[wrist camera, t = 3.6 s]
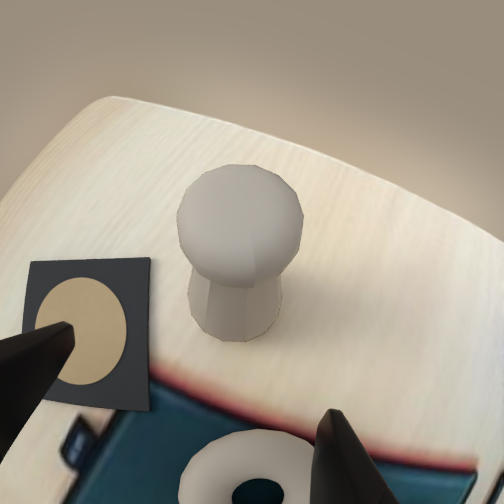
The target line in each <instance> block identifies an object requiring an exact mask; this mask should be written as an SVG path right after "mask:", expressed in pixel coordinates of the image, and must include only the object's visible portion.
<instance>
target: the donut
mask: <svg viewBox="0 0 504 504" xmlns="http://www.w3.org/2000/svg"><path fill="white" fill-rule="evenodd" d="M313 453H314V447H313V446H312V445H311V444H309V443H308V442H307V441H305V440H303V439H300V438H298V437H295V436H293V435H291V434H288V433H286V432H281V431H272V430H263V429H254V430H248V431H240V432H233V433H231V434H229V435H226V436H224V437H222V438H219V439H217V440H215V441H212V442H210V443H209V444H208V445H207V446H205V447H204V448H203V449H202V450H201V451H199V452H198V453H197V454H196V455H194V456H193V457H192V458H191V460H190V462H189V463H188V465H187V467H186V468H185V470H184V472H183V473H182V475H181V480H180V486H179V492H178V500H179V504H232V499H231V498H232V493H233V491H234V490H235V488H236V487H237V486H239V485H240V484H241V483H243V482H245V481H248V480H250V479H256V478H265V479H270V480H273V481H275V482H277V483H278V484H280V486H281V487H282V489H283V490H284V495H285V496H284V500H283V502H282V504H309V502H310V483H311V466H312V459H313Z"/></svg>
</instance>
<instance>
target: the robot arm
mask: <svg viewBox="0 0 504 504" xmlns="http://www.w3.org/2000/svg"><path fill="white" fill-rule="evenodd" d="M74 347H75V334H74V327H73V325H72V324H69V323H67V322H65V321H61V322H58V323H54V324H51V325H48V326H45V327H42V328H38V329H35V330H32V331H29V332H25V333H22V334H19V335H16V336H12V337H9V338H6V339H2V340H0V464H1V462H2V460H3V459H4V458H3V457H5V455H6V453H7V452H8V450H9V449H10V447H11V445H12V444H13V442H14V441H15V439H16V438H17V436H18V434H19V433H20V431H21V430H22V428H23V427H24V425H25V424H26V422H27V421H28V419H29V418H30V416H31V415H32V413H33V412H34V410H35V409H36V407H37V406H38V405H39V403H40V402H41V400H42V399H43V397H44V396H45V395H46V393H47V392H48V390H49V389H50V387H51V386H52V385H53V383H54V382H55V380H56V379H57V377H58V376H59V374H60V372H61V370H62V368H63V367H64V365H65V363H66V361H67V360H68V358H69V356H70V355H71V353H72V351H73V349H74ZM309 504H400V503H399V501H398V500H397V498H396V497H395V496H394V494H393V492H392V491H391V489H390V488H389V487H388V485H387V483H386V481H385V480H384V478H383V477H382V475H381V474H380V472H379V470H378V469H377V467H376V466H375V464H374V462H373V461H372V459H371V458H370V456H369V454H368V453H367V451H366V450H365V448H364V446H363V445H362V443H361V442H360V440H359V438H358V437H357V435H356V434H355V432H354V430H353V429H352V427H351V426H350V424H349V422H348V421H347V419H346V418H345V416H344V414H343V413H342V411H340V410H336V409H328V410H327V412H326V413H325V415H324V416H323V418H322V419H321V421H320V422H319V424H318V428H317V434H316V440H315V447H314V453H313V459H312V466H311V483H310V502H309Z"/></svg>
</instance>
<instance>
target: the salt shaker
mask: <svg viewBox="0 0 504 504" xmlns="http://www.w3.org/2000/svg"><path fill="white" fill-rule="evenodd" d="M303 218H304V215H303V212H302V209H301V206H300V203H299V200H298V197H297V194H296V192H295V191H294V190H293V189H292V188H291V187H290V186H289V185H288V184H287V183H286V182H285V181H284V180H283V179H282V178H281V177H280V176H279V175H277V174H274V173H272V172H270V171H267V170H265V169H263V168H260V167H258V166H256V165H226V166H223V167H220V168H217V169H214V170H211V171H208V172H205V173H204V174H203V175H202V176H200V177H199V178H198V179H197V180H196V181H195V182H194V183H193V184H192V185H191V186H189V187H188V188H187V189H186V192H185V194H184V196H183V199H182V201H181V204H180V206H179V208H178V211H177V227H178V234H179V241H180V247H181V249H182V251H183V253H184V254H185V256H186V257H187V259H188V260H189V261H190V263H191V264H192V266H193V268H192V273H191V278H190V283H189V289H188V299H189V305H190V310H191V314H192V316H193V317H194V319H195V320H196V322H197V323H198V324H199V326H200V327H201V329H202V330H203V331H204V332H206V333H208V334H210V335H212V336H214V337H216V338H218V339H220V340H222V341H231V342H246V341H248V340H250V339H253V338H255V337H257V336H259V335H261V334H263V333H265V332H266V331H267V329H268V328H269V327H270V326H271V325H272V323H273V322H274V321H275V320H276V318H277V317H278V314H279V309H280V305H281V300H282V290H281V280H280V274H281V273H282V271H283V270H284V269H285V268H286V267H287V265H288V264H289V263H290V262H291V261H292V259H293V258H294V257H295V255H296V254H297V252H298V251H299V246H300V240H301V234H302V228H303Z"/></svg>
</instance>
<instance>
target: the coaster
mask: <svg viewBox="0 0 504 504" xmlns="http://www.w3.org/2000/svg"><path fill="white" fill-rule="evenodd" d="M150 261H151V259H150V257H143V258H115V259H86V260H58V261H31V263H30V268H29V275H28V281H27V288H26V296H25V304H24V313H23V325H22V333H25V332H29V331H32V330H35V329H38V328H42V327H45V326H48V325H51V324H54V323H58V322H61V321H65V322H67V323H69V324H72V325H73V327H74V334H75V347H74V349H73V351H72V353H71V355H70V356H69V358H68V360H67V361H66V363H65V365H64V367H63V368H62V370H61V372H60V374H59V376H58V377H57V379H56V380H55V382H54V383H53V385H52V386H51V387H50V389H49V390H48V392H47V393H46V395H45V396H44V397H43V399H46V400H51V401H57V402H63V403H69V404H75V405H82V406H90V407H98V408H107V409H118V410H130V411H145V412H150V411H151V406H150V386H149V348H148V321H149V282H150Z"/></svg>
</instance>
